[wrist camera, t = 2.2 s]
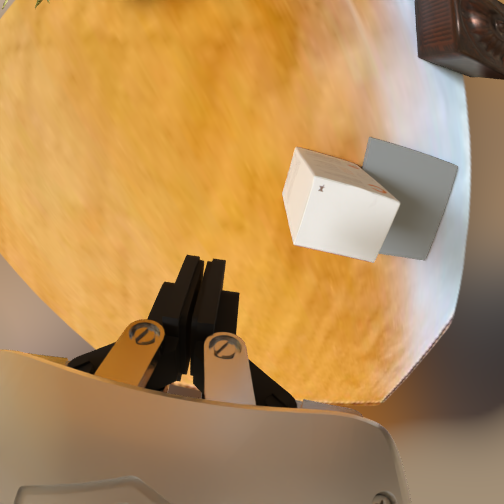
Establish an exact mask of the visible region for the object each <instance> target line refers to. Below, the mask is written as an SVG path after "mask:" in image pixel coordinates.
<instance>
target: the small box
mask: <svg viewBox="0 0 504 504" xmlns="http://www.w3.org/2000/svg"><path fill="white" fill-rule="evenodd" d="M282 195H283V200H284V204H285V209H286V213H287V217H288V222H289V226H290V231H291V235H292V240H293V244H294V245H296V246H300V247H305V248H310V249H314V250H319V251H323V252H328V253H333V254H337V255H341V256H346V257H351V258H355V259H359V260H364V261H368V262H372V263H374V262H375V260H376V257H377V255H378V253H379V251H380V249H381V247H382V245H383V242H384V240H385V238H386V236H387V234H388V231H389V229H390V227H391V225H392V222H393V220H394V218H395V216H396V213H397V211H398V209H399V207H400V202H399V201H398V200H397V199H396V198H395V197H394V196H393V195H392V194H391V193H389V192H388V191H387V190H386V189H385V188H384V187H383V186H381V185H380V184H379V183H378V182H377V181H376V180H375V179H373V178H372V177H371V176H370V175H368V174H367V173H366V172H365V171H364V170H362V169H361V168H360V167H359V166H358V165H357V164H354V163H351V162H348V161H345V160H342V159H339V158H336V157H332V156H329V155H326V154H322V153H319V152H315V151H312V150H308V149H304V148H300V147H295V150H294V154H293V158H292V161H291V165H290V168H289V172H288V175H287V179H286V182H285V186H284V189H283V193H282Z"/></svg>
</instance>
